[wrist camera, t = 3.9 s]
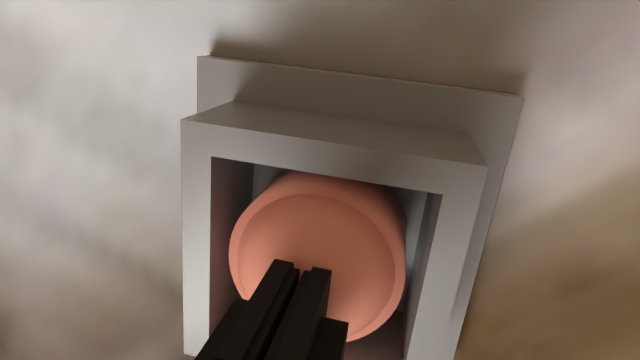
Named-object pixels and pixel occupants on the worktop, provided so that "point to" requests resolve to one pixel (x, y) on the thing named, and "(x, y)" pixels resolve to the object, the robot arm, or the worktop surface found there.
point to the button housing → (351, 163)
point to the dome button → (327, 243)
